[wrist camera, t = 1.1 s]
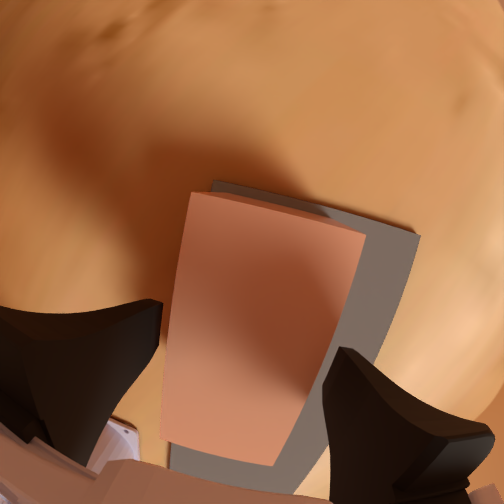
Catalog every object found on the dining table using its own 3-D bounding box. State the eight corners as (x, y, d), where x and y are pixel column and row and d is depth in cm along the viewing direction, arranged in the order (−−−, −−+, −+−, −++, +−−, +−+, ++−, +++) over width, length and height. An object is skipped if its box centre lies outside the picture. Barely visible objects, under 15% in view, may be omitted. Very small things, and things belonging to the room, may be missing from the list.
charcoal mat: (170, 470, 20) (169, 474, 20) (215, 180, 15) (213, 179, 14) (288, 495, 20) (288, 498, 19) (417, 234, 14) (420, 235, 14)
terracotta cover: (191, 372, 17) (159, 438, 11) (226, 192, 14) (191, 191, 8) (275, 392, 16) (272, 466, 10) (331, 218, 14) (366, 234, 8)
